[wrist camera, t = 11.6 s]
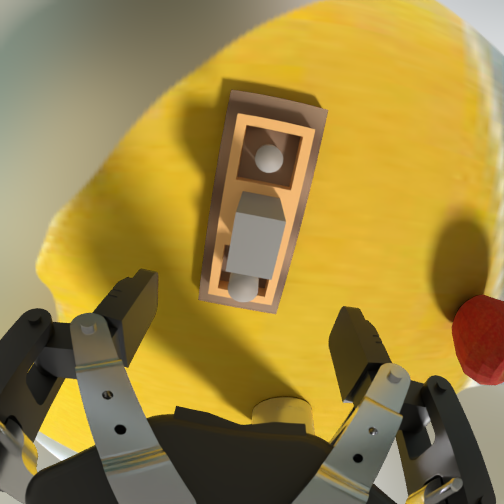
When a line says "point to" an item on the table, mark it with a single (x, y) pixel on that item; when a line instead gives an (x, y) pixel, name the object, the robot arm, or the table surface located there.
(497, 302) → the apple
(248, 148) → the pin board
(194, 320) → the table surface
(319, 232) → the table surface
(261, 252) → the hole bar
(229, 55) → the table surface
